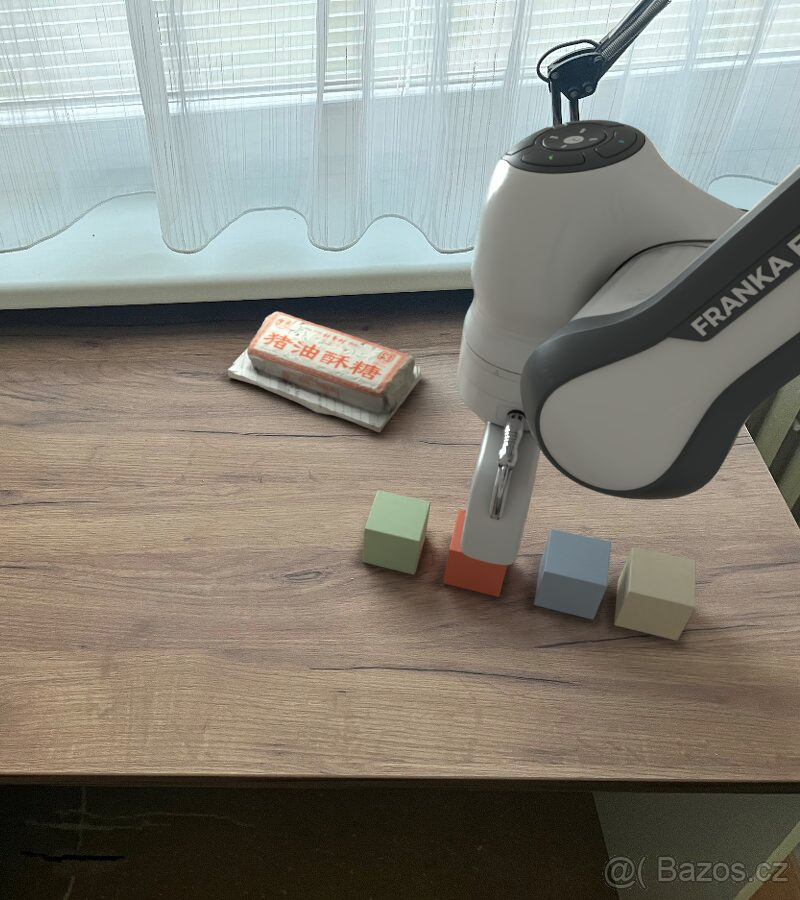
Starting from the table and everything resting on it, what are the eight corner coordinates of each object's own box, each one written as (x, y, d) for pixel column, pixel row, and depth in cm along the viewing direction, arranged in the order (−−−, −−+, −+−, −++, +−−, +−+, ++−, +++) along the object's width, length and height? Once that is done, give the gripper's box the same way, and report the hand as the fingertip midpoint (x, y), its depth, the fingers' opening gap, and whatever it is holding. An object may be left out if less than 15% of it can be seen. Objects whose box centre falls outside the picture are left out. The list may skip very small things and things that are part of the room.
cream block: (678, 595, 70) (696, 560, 66) (677, 641, 67) (695, 607, 64) (617, 580, 71) (632, 546, 68) (613, 625, 68) (628, 591, 65)
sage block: (425, 535, 76) (431, 501, 73) (414, 575, 73) (419, 541, 70) (374, 523, 77) (377, 489, 74) (361, 562, 75) (364, 528, 71)
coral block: (506, 555, 74) (515, 521, 71) (498, 597, 71) (507, 563, 68) (452, 542, 75) (459, 508, 72) (442, 583, 72) (449, 549, 69)
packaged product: (428, 341, 87) (383, 400, 82) (424, 378, 90) (380, 437, 85) (273, 292, 95) (223, 342, 90) (274, 328, 99) (226, 378, 93)
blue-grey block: (597, 576, 72) (611, 541, 68) (593, 620, 69) (607, 586, 66) (540, 562, 73) (550, 528, 70) (533, 605, 70) (544, 571, 67)
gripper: (559, 489, 50) (522, 625, 60) (592, 289, 63) (557, 428, 73) (448, 466, 52) (429, 602, 62) (501, 277, 65) (479, 414, 75)
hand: (499, 506), depth 67 cm, fingers open, 8 cm apart
